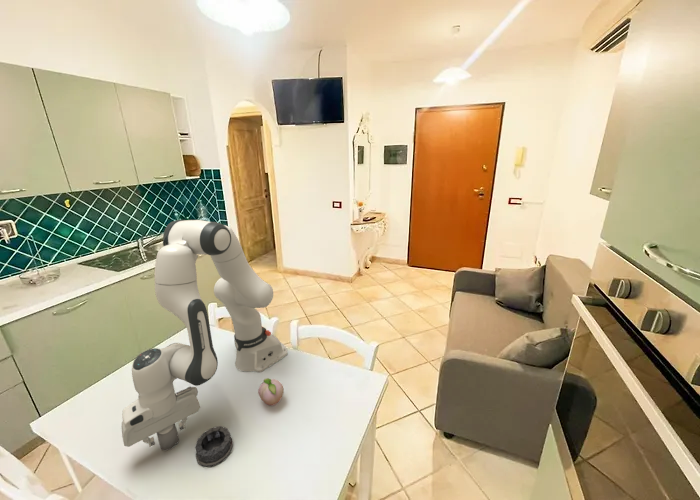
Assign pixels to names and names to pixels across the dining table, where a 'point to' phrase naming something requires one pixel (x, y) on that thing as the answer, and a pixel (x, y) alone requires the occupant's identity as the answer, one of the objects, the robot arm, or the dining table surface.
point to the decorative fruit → (271, 391)
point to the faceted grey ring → (213, 446)
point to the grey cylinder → (168, 437)
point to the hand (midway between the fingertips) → (167, 436)
